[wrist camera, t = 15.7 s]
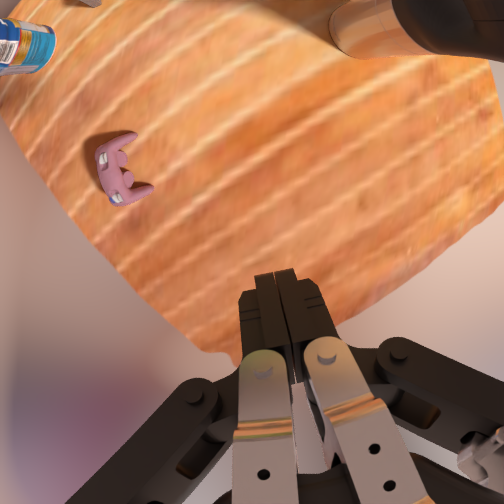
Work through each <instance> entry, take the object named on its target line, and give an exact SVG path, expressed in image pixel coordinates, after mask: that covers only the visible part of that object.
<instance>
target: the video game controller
mask: <svg viewBox="0 0 504 504" xmlns="http://www.w3.org/2000/svg"><path fill="white" fill-rule="evenodd" d="M137 136H138V134H137V133H127V134H124V135H121V136H118V137H116V138H114V139H112V140H110V141H108V142H106V143H105V144H103V145H101V146H99V147H98V148H97V149H96V152H95V161H96V163H97V172H98V176H99V179H100V183H101V185H102V187H103V189H104V191H105V193H106V195H107V196H108V197H109V201H110V202H111V204H112V205H114V206H125V205H129V204H131V203H133V202H135V201H137V200H139V199H141V198H143V197H145V196H147V195H149V194H150V193H151V192H153V190H154V186H152V185H147V186H142V187H138V188H135V189H131V186H132V184H133V182H134V176H133V174H132V173H131V172H130V171H127V172H121V170H120V167H123V166H125V165H126V164H127V155H126V153H125V152H122V151H118V150H119V149H120V148H122V147H123V146H125V145H126V144H128V143H130V142H132V141H133V140H134V139H136V137H137Z"/></svg>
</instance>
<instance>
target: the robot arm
mask: <svg viewBox="0 0 504 504" xmlns="http://www.w3.org/2000/svg"><path fill="white" fill-rule="evenodd" d="M329 31H330V34H331V37H332V39H333V41H334V43H335V44H336V45H337V46H338V48H339V49H341V50H342V51H343V52H344V53H346V54H347V55H349V56H351V57H354V58H357V59H374V58H384V57H396V56H412V55H452V56H465V57H475V58H483V59H489V60H494V61H499V62H504V0H351V1H349V2H348V3H346V4H344V5H343V6H341V7H339V8H338V9H336V10H335V11H334V12H333V14H332V15H331V17H330V20H329ZM274 275H275V279H274ZM274 275H273V272H271V273H266V274H261V275H255V276H254V278H255V284H256V289H253V290H248V291H243V293H242V295H241V297H240V299H239V301H238V304H239V317H240V329H241V341H242V352H243V357H242V361H241V364H240V365H239V367H238V368H237V370H236V371H234V372H233V373H232V374H231V375H229V376H227V377H225V378H223V379H220V380H218V381H216V382H213V383H212V382H210V381H209V380H206V379H204V378H193V379H189V380H186V381H185V382H183V383H181V384H180V385H179V386H178V387H177V388H176V389H175V390H174V392H173V393H172V394H171V395H170V396H169V397H168V398H167V399H166V400H165V401H164V402H163V404H162V405H161V406H160V407H159V408H158V409H157V410H156V411H155V412H154V413H153V414H152V415H151V416H150V417H149V419H148V420H147V421H146V422H145V423H144V424H143V425H142V426H141V427H140V428H139V429H138V430H137V431H136V432H135V433H134V434H133V435H132V437H131V438H130V439H129V440H128V441H127V442H126V443H125V444H124V445H123V446H122V447H121V448H120V449H119V450H118V451H117V452H116V453H115V454H114V455H113V456H112V457H111V458H110V459H109V460H108V461H107V462H106V463H105V464H104V465H103V466H102V467H101V468H100V469H99V470H98V471H97V472H96V473H95V474H94V475H93V476H92V477H91V478H90V479H89V480H88V481H87V482H86V483H85V484H84V485H83V486H82V487H81V488H80V489H79V490H78V491H77V492H76V493H75V494H74V495H73V496H72V497H71V498H70V499H69V500H68V501H67V502H66V503H65V504H182V503H183V502H184V501H185V499H186V498H187V497H188V496H189V495H190V494H191V493H192V492H193V491H194V489H195V488H196V487H197V486H198V485H199V483H200V482H201V481H202V480H203V479H204V478H205V477H206V475H207V474H208V473H209V472H210V471H211V469H212V468H213V467H214V466H215V465H216V463H217V462H218V461H219V460H220V458H221V457H222V456H223V455H224V453H225V452H226V451H227V449H228V448H229V447H230V446H231V444H232V443H233V456H232V457H233V459H232V489H231V490H230V491H228V492H226V493H225V494H223V495H222V496H221V497H219V498H218V499H217V500H216V501H215V502H214V503H213V504H504V382H502V381H500V380H498V379H495V378H493V377H491V376H489V375H486V374H484V373H482V372H480V371H477V370H475V369H473V368H471V367H468V366H466V365H464V364H462V363H459V362H457V361H455V360H453V359H450V358H448V357H446V356H444V355H442V354H440V353H437V352H435V351H433V350H431V349H429V348H426V347H424V346H422V345H420V344H418V343H415V342H413V341H411V340H409V339H406V338H403V337H393V338H389V339H387V340H385V341H384V342H382V344H381V345H380V346H379V348H356V347H352V346H350V345H347V344H346V343H345V342H343V341H342V340H341V339H340V337H339V336H338V334H337V331H336V329H335V326H334V324H333V321H332V319H331V316H330V314H329V311H328V309H327V307H326V305H325V302H324V299H323V297H322V295H321V292H320V290H319V287H318V285H316V284H315V283H314V282H313V281H312V280H310V279H309V278H308V279H303V280H298V281H297V278H296V275H295V272H294V269H293V268H291V269H286V270H281V271H276V272H274ZM275 281H276V283H275ZM293 368H294V369H293ZM294 372H295V376H296V380H297V383H301V382H304V386H305V390H306V400H307V403H308V406H309V409H310V412H311V415H312V418H313V421H314V424H315V427H316V430H317V433H318V436H319V439H320V442H321V446H322V451H323V456H324V460H325V464H326V466H327V471H325V472H323V473H320V474H299V467H298V458H297V451H296V450H297V449H296V439H295V429H294V420H293V410H292V403H293V395H292V388H291V385H292V384H295V378H294ZM396 424H397V425H399V426H401V427H403V428H405V429H407V430H409V431H410V432H412V433H415V434H416V435H418V436H420V437H422V438H424V439H426V440H428V441H430V442H433V443H435V444H437V445H439V446H441V447H443V448H445V449H447V450H450V451H452V452H454V453H456V454H458V457H457V463H458V468H459V469H460V470H461V471H462V472H463V473H465V474H466V475H467V476H468V477H469V478H470V479H471V480H469V479H467V478H465V477H463V476H461V475H459V474H457V473H455V472H453V471H451V470H449V469H447V468H445V467H443V466H441V465H439V464H437V463H435V462H433V461H431V460H429V459H428V458H426V457H424V456H421V455H418V454H416V453H411V452H408V449H407V447H406V445H405V443H404V441H403V439H402V437H401V435H400V432H399V430H398V428H397V426H396Z"/></svg>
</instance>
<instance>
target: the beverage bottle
mask: <svg viewBox="0 0 504 504" xmlns="http://www.w3.org/2000/svg"><path fill="white" fill-rule="evenodd" d="M55 48H56V34H55V32H54V30H53V29H52V28H51V27H49V26H46V25H39V24H34V23H29V22H24V21H19V20H15V19H13V18H4V19H1V18H0V76H4V75H12V74H23V73H26V74H27V73H34V72H37V71H39V70H41V69H42V68H43V67H44V66H45V65H46V64H47V63H48V62H49V60H50V59H51V57H52V55H53V53H54V51H55Z"/></svg>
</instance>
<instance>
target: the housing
mask: <svg viewBox="0 0 504 504" xmlns="http://www.w3.org/2000/svg"><path fill="white" fill-rule="evenodd" d="M79 1H81V2H83V3H85V4H87V5H89V6H91V7H93V8H95V7H97V6H99V5H101V0H79Z"/></svg>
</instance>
